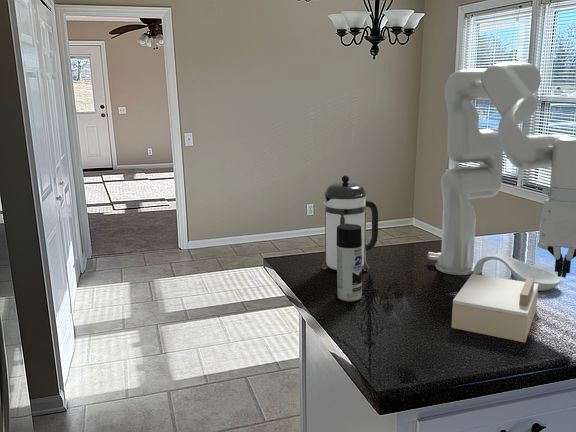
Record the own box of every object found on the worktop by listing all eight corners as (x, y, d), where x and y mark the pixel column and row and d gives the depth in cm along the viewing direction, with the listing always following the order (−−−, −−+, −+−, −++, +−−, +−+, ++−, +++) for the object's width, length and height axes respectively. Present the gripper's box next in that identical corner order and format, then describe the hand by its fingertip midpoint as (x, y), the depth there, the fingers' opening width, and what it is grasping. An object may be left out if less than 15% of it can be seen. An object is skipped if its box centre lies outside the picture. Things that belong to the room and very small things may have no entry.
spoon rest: (565, 286, 147) (568, 262, 146) (551, 299, 139) (554, 273, 137) (483, 269, 163) (484, 246, 161) (466, 279, 155) (467, 256, 153)
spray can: (355, 303, 139) (355, 230, 134) (332, 299, 142) (332, 227, 138) (365, 295, 144) (366, 224, 140) (343, 291, 148) (343, 222, 143)
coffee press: (368, 280, 155) (369, 180, 148) (316, 275, 160) (314, 178, 153) (377, 262, 171) (379, 171, 164) (330, 258, 176) (329, 169, 169)
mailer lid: (452, 303, 122) (453, 289, 121) (471, 276, 139) (472, 264, 138) (527, 316, 114) (528, 302, 113) (538, 286, 131) (539, 274, 130)
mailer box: (451, 327, 124) (452, 303, 122) (470, 298, 140) (471, 277, 139) (525, 342, 116) (527, 317, 114) (536, 309, 132) (538, 287, 131)
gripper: (528, 195, 114) (523, 275, 118) (608, 200, 107) (600, 285, 111) (533, 190, 121) (527, 266, 125) (609, 194, 113) (600, 275, 117)
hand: (561, 275), depth 118 cm, fingers closed
